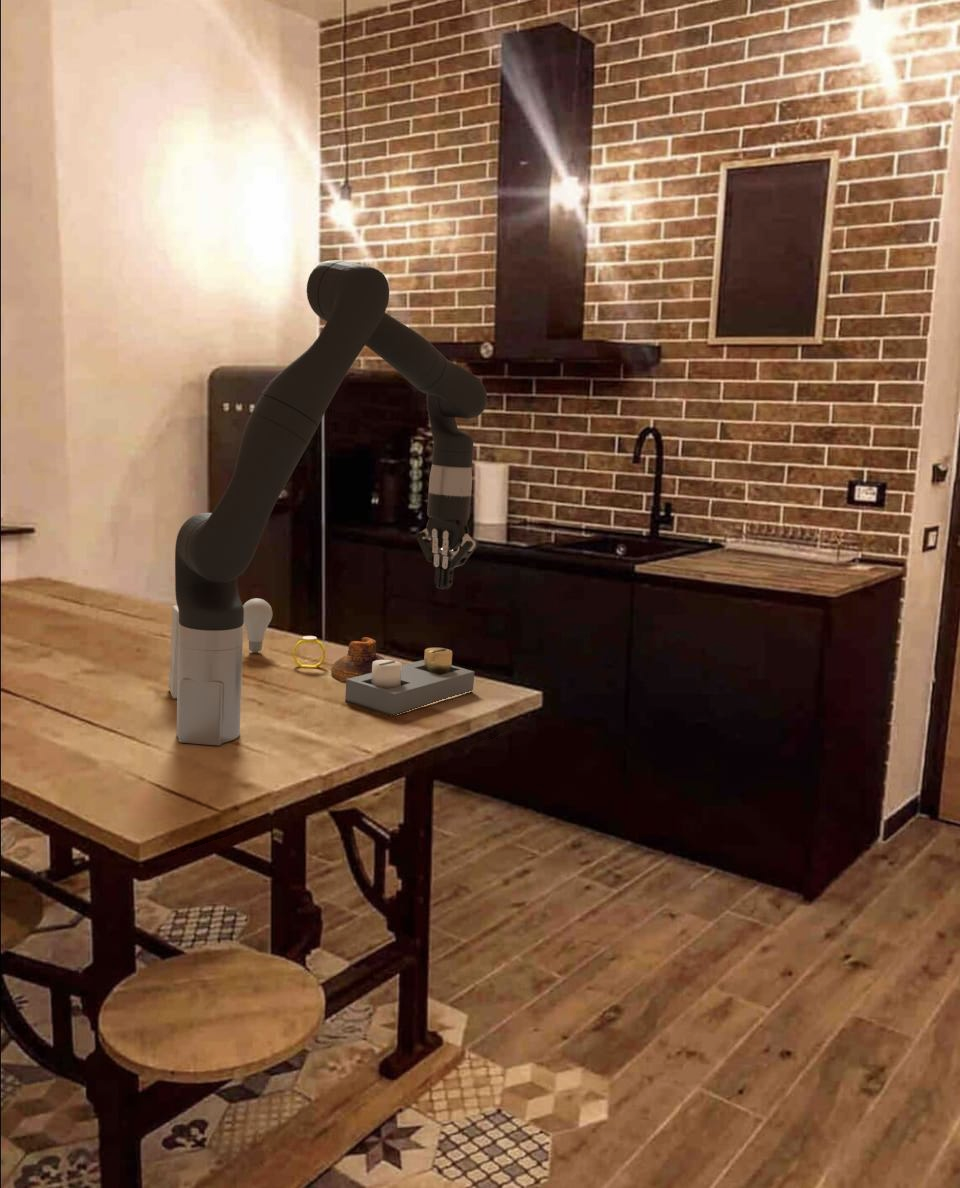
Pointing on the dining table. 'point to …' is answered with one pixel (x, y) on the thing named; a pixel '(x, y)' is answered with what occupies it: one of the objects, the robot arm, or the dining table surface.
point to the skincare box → (174, 652)
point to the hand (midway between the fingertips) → (443, 588)
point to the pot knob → (386, 673)
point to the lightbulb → (256, 622)
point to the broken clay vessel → (356, 660)
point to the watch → (309, 640)
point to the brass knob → (438, 660)
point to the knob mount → (408, 689)
